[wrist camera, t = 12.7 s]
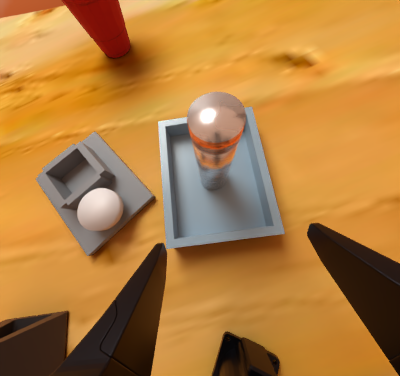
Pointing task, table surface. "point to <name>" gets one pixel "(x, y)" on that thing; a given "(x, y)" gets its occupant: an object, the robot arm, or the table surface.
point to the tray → (215, 191)
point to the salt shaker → (215, 135)
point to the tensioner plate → (88, 178)
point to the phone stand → (33, 344)
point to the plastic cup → (102, 24)
